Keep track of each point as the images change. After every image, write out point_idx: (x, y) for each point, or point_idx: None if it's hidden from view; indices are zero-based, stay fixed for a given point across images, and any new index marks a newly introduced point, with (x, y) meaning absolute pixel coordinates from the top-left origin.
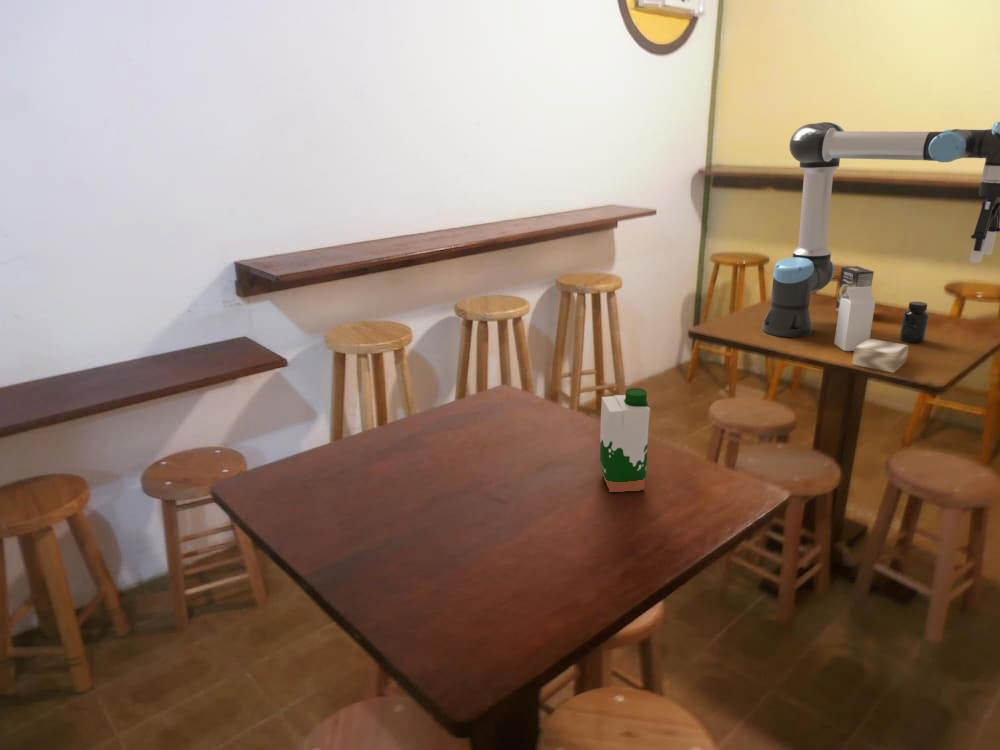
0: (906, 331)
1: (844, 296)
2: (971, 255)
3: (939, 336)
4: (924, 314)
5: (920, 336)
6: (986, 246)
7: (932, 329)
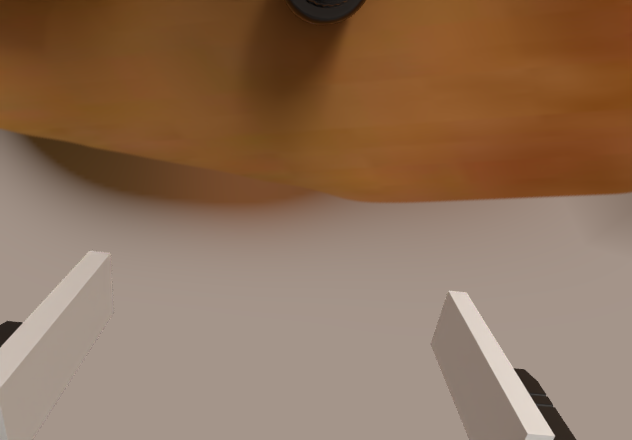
0: None
1: None
2: (64, 283)
3: (412, 65)
4: (301, 5)
5: (290, 9)
6: (460, 353)
7: (494, 35)
